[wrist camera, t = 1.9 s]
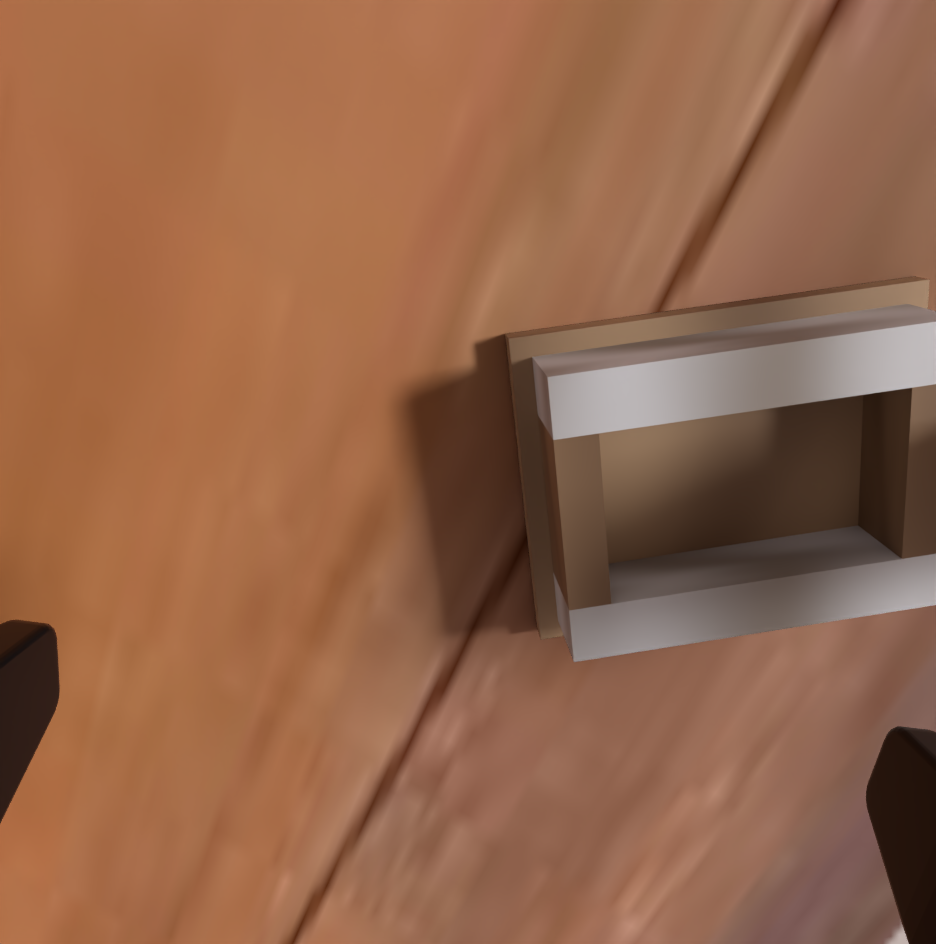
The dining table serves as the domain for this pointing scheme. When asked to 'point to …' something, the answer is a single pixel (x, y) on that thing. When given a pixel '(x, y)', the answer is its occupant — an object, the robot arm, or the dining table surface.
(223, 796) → the dining table surface
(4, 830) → the dining table surface
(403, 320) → the dining table surface
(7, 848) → the dining table surface
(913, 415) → the track
